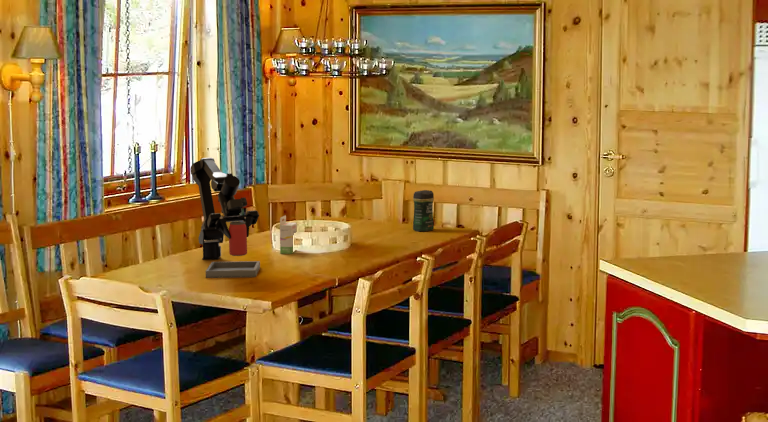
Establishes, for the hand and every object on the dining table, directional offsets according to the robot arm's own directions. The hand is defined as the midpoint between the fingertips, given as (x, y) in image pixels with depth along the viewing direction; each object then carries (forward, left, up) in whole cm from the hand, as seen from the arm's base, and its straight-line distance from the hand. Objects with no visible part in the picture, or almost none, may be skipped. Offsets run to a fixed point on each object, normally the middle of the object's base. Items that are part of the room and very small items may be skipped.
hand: (239, 237), depth 383 cm
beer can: (-1, +1, -7) cm, 7 cm away
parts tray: (-2, 0, -13) cm, 14 cm away
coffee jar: (+75, +94, -13) cm, 121 cm away
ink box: (+16, +42, -13) cm, 47 cm away
